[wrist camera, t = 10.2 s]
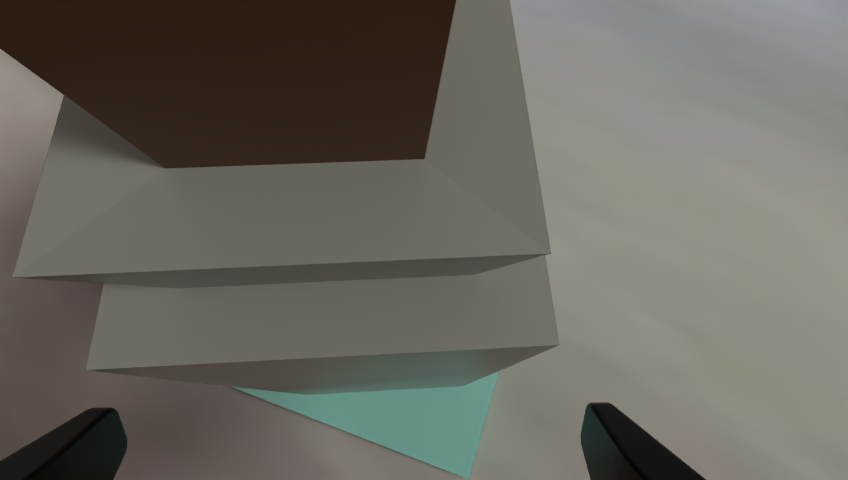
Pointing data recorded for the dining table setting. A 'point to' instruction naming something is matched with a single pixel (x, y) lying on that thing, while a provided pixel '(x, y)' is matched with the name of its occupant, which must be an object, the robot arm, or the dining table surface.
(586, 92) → the dining table surface
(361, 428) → the teal tile
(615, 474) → the robot arm
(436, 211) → the perfume bottle
